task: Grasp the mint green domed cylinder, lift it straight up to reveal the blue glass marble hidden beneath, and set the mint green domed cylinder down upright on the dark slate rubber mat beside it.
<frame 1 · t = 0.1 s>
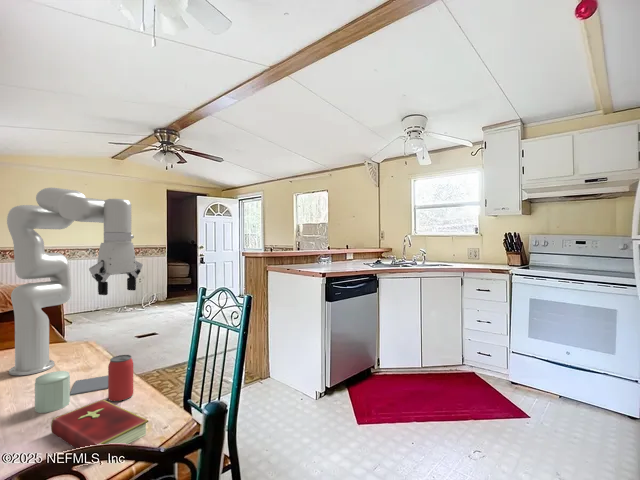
hand: (117, 292, 105), 31 cm above the table, tool pointing down, fingers open, 9 cm apart
hardcover book: (99, 436, 82), on the table
mint green domed cylinder: (52, 405, 96), on the table
slate mat: (93, 384, 109), on the table
marble: (52, 399, 96), point 2 cm above the table
beer can: (121, 397, 101), on the table
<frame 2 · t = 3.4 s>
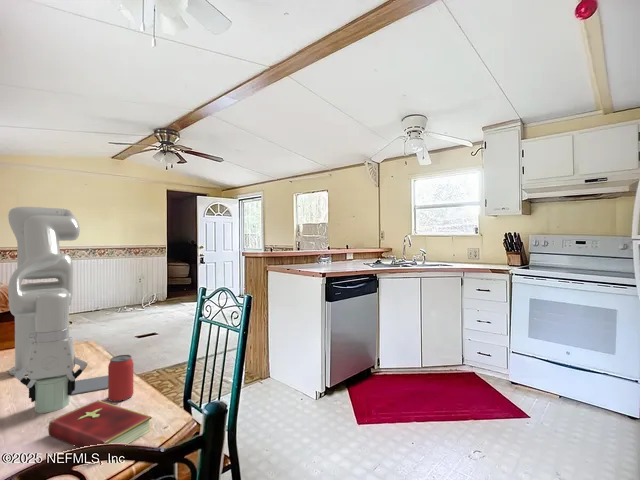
hand: (52, 396, 96), 3 cm above the table, tool pointing down, fingers closed on mint green domed cylinder, 7 cm apart
mint green domed cylinder: (52, 405, 96), on the table, touching gripper
when the fingers open (5 cm above the table, at t = 10.3 s): mint green domed cylinder drops 1 cm, resting on slate mat.
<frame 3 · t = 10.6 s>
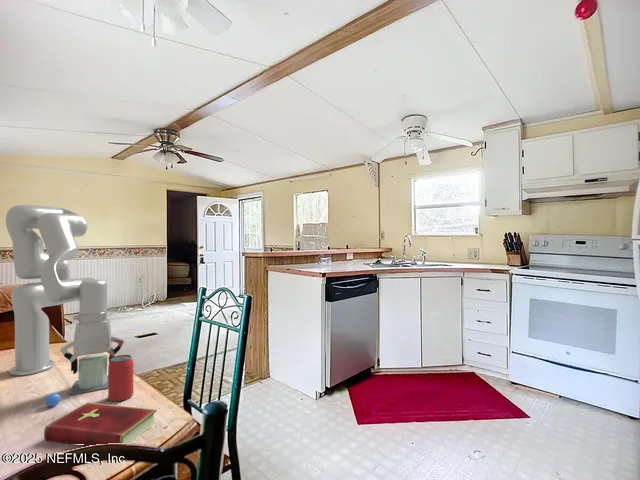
hand: (93, 369, 109), 5 cm above the table, tool pointing down, fingers open, 9 cm apart
mint green domed cylinder: (93, 383, 109), resting on slate mat
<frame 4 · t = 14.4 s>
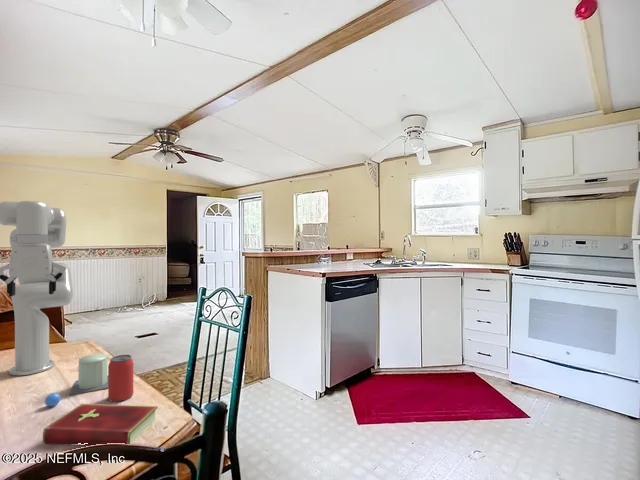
hand: (32, 294, 105), 30 cm above the table, tool pointing down, fingers open, 9 cm apart
at the end: mint green domed cylinder 0.1 cm off-centre on the slate mat, point 0.4 cm above the slate mat's base; mint green domed cylinder tilted 0°; the gripper is holding nothing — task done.
